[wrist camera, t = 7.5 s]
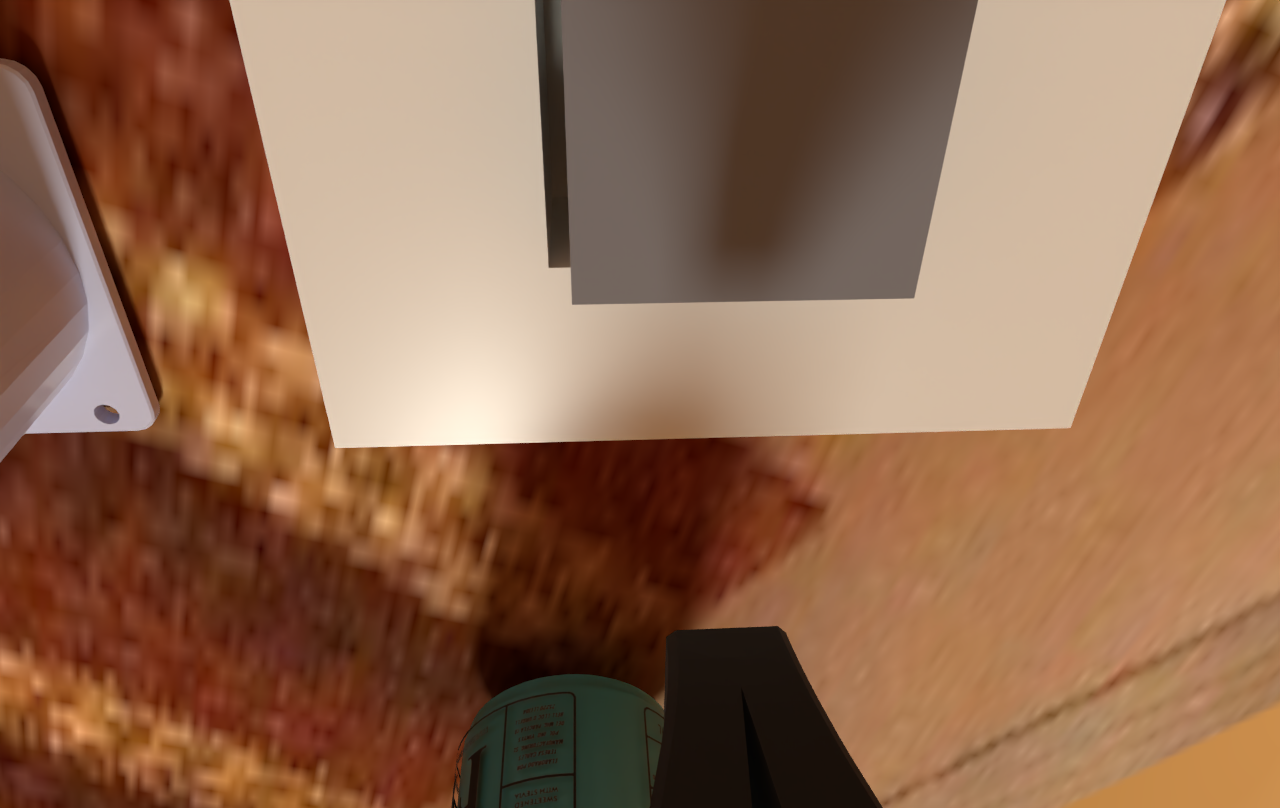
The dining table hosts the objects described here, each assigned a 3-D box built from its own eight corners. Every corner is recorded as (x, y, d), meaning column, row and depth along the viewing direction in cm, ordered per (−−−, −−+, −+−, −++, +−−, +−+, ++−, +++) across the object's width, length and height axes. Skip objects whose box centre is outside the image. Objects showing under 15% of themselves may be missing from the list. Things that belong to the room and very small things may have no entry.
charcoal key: (572, 219, 15) (571, 304, 13) (560, -119, 12) (557, -94, 10) (860, 216, 15) (914, 298, 13) (915, -116, 13) (998, -91, 10)
